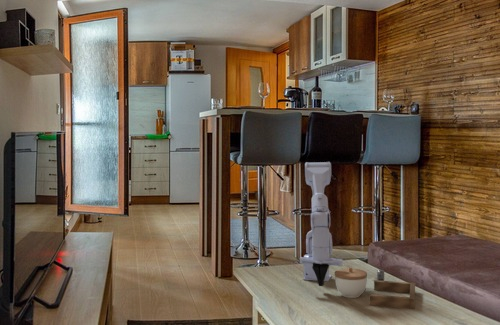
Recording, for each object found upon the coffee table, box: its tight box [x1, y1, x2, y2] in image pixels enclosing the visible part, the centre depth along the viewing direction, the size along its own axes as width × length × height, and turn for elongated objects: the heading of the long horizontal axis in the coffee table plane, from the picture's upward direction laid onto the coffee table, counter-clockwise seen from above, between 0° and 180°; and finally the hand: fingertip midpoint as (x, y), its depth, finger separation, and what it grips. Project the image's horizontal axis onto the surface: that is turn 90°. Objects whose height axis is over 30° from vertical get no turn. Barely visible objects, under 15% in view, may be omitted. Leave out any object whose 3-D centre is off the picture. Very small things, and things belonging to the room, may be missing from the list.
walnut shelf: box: [369, 279, 416, 310], centre depth 164 cm, size 14×18×3 cm
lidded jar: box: [334, 266, 368, 299], centre depth 168 cm, size 11×11×9 cm
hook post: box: [376, 269, 385, 281], centre depth 175 cm, size 2×4×6 cm, turn 161°
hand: (321, 285), depth 172 cm, fingers closed
